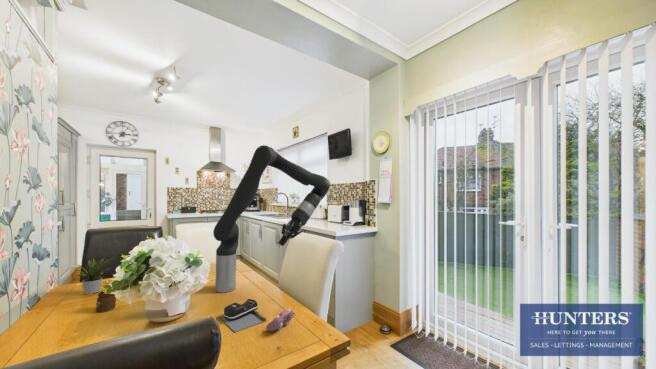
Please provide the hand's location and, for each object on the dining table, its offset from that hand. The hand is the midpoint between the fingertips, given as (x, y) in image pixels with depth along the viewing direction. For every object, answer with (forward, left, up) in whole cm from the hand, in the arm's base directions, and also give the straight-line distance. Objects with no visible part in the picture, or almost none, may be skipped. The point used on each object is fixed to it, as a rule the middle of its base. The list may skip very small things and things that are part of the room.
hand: (280, 244), depth 108 cm
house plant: (-71, -57, -26) cm, 94 cm away
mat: (+1, -17, -25) cm, 31 cm away
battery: (-3, -10, -22) cm, 25 cm away
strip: (+1, -11, -25) cm, 28 cm away
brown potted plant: (-44, -54, -26) cm, 74 cm away
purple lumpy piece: (+16, -9, -26) cm, 31 cm away
